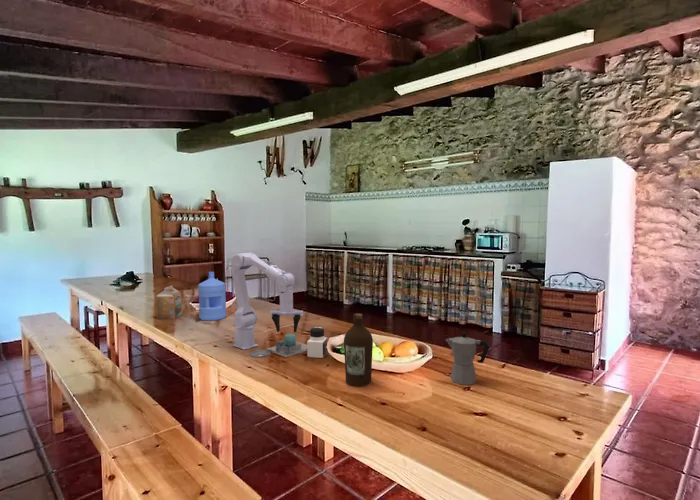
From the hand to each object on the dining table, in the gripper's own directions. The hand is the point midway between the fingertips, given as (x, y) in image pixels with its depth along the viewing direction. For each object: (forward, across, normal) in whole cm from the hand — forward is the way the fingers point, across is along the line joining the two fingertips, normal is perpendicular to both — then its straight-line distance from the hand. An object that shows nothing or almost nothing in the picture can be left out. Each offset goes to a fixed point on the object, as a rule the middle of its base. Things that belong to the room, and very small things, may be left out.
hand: (286, 331), depth 182 cm
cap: (+8, -1, +5) cm, 9 cm away
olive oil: (+10, +34, -28) cm, 45 cm away
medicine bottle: (+10, +14, 0) cm, 17 cm away
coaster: (+10, -12, -1) cm, 16 cm away
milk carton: (+11, -90, +60) cm, 109 cm away
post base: (+10, 0, +6) cm, 12 cm away
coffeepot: (+10, +74, -23) cm, 78 cm away
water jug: (+11, -63, +62) cm, 88 cm away
